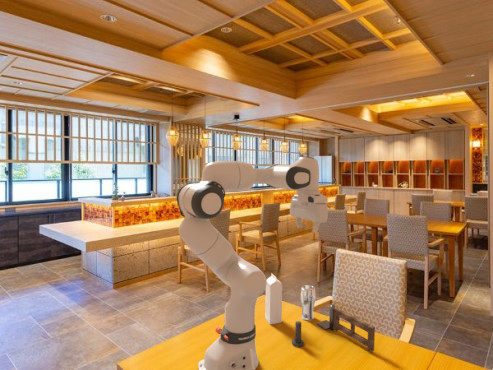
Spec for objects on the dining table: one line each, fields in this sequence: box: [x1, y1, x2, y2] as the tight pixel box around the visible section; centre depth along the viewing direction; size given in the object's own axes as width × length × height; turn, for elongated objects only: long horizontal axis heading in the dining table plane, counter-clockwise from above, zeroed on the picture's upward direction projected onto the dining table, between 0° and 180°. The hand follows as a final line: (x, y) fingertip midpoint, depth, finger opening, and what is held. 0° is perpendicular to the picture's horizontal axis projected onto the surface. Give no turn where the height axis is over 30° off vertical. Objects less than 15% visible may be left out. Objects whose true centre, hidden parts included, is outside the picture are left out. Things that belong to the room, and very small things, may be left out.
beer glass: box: [300, 284, 316, 322], centre depth 159 cm, size 7×7×15 cm
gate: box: [333, 307, 376, 352], centre depth 138 cm, size 20×3×10 cm, turn 31°
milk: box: [264, 272, 283, 325], centre depth 155 cm, size 6×6×22 cm
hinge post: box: [316, 304, 336, 332], centre depth 150 cm, size 6×8×11 cm
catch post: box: [291, 320, 305, 348], centre depth 136 cm, size 5×5×9 cm
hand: (307, 230), depth 136 cm, fingers open, 8 cm apart
